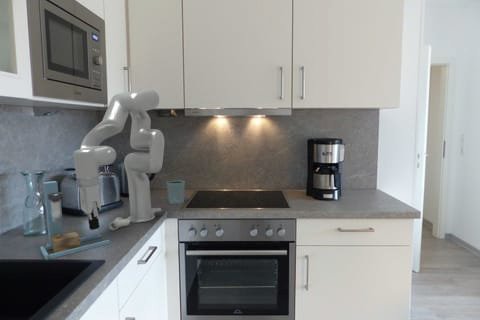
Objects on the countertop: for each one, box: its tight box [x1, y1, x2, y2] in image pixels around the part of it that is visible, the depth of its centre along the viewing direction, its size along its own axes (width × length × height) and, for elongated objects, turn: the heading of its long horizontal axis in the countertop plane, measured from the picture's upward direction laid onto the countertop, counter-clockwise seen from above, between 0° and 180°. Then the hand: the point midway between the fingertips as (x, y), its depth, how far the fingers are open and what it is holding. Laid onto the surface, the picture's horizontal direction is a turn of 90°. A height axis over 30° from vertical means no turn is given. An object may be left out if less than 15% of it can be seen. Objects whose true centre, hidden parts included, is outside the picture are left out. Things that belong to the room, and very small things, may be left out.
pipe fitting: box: [108, 216, 131, 231], centre depth 138 cm, size 8×4×7 cm
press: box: [40, 180, 110, 261], centre depth 117 cm, size 21×16×24 cm
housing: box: [51, 231, 81, 253], centre depth 115 cm, size 8×6×6 cm
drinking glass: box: [166, 179, 186, 205], centre depth 180 cm, size 10×10×12 cm
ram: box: [47, 192, 64, 222], centre depth 112 cm, size 5×5×10 cm
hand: (94, 228), depth 121 cm, fingers closed
